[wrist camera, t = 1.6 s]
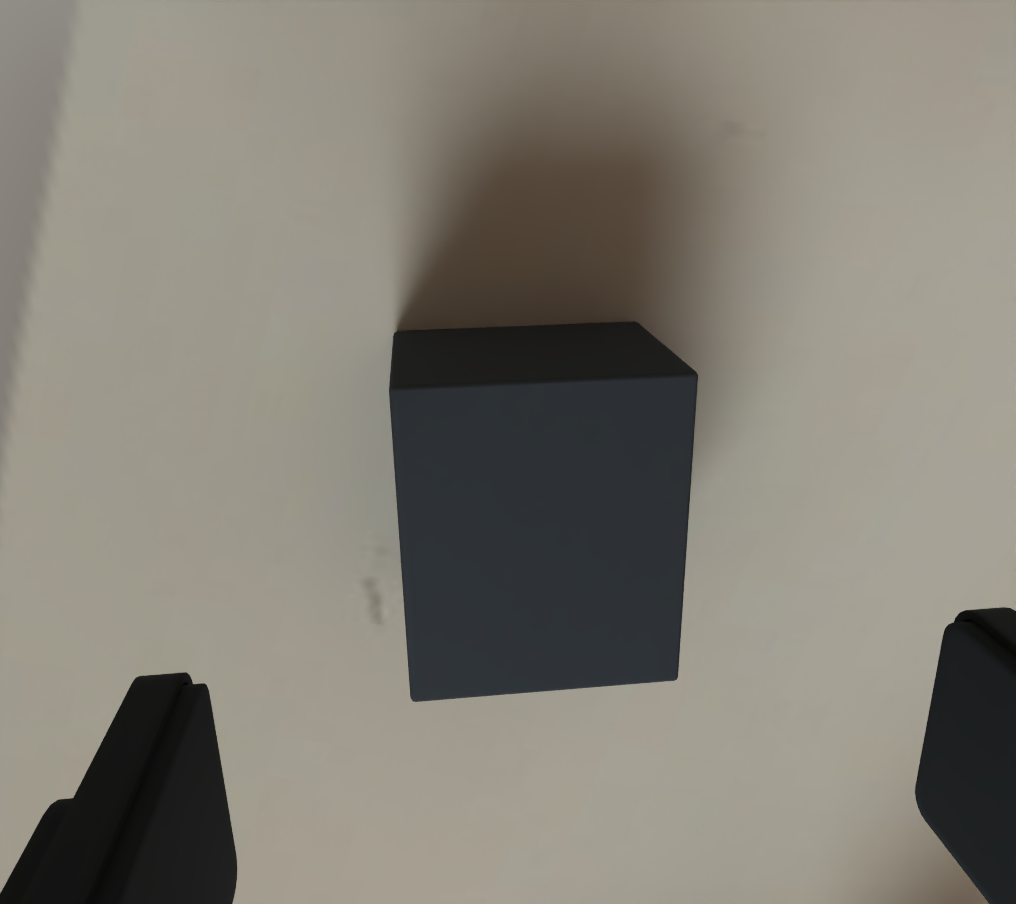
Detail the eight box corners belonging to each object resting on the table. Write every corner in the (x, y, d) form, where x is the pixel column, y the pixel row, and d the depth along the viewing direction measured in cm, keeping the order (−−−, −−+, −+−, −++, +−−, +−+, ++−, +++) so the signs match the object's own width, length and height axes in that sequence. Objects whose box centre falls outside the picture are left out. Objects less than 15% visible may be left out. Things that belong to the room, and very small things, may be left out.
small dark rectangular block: (393, 330, 17) (388, 386, 13) (637, 320, 17) (700, 372, 14) (410, 591, 19) (410, 704, 15) (627, 576, 19) (679, 682, 16)
